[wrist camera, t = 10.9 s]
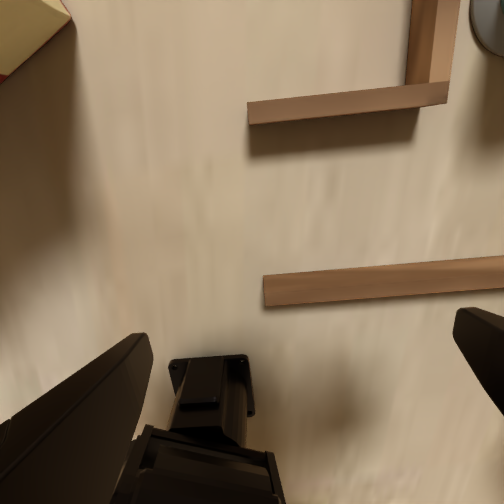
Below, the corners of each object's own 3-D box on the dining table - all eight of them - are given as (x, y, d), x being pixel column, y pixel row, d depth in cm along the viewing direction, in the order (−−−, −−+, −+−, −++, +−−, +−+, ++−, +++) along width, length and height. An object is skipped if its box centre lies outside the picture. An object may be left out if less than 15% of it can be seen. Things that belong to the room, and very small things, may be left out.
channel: (561, 263, 21) (600, 279, 19) (264, 287, 22) (265, 306, 19) (690, -138, 13) (782, -195, 11) (231, -77, 14) (226, -118, 12)
